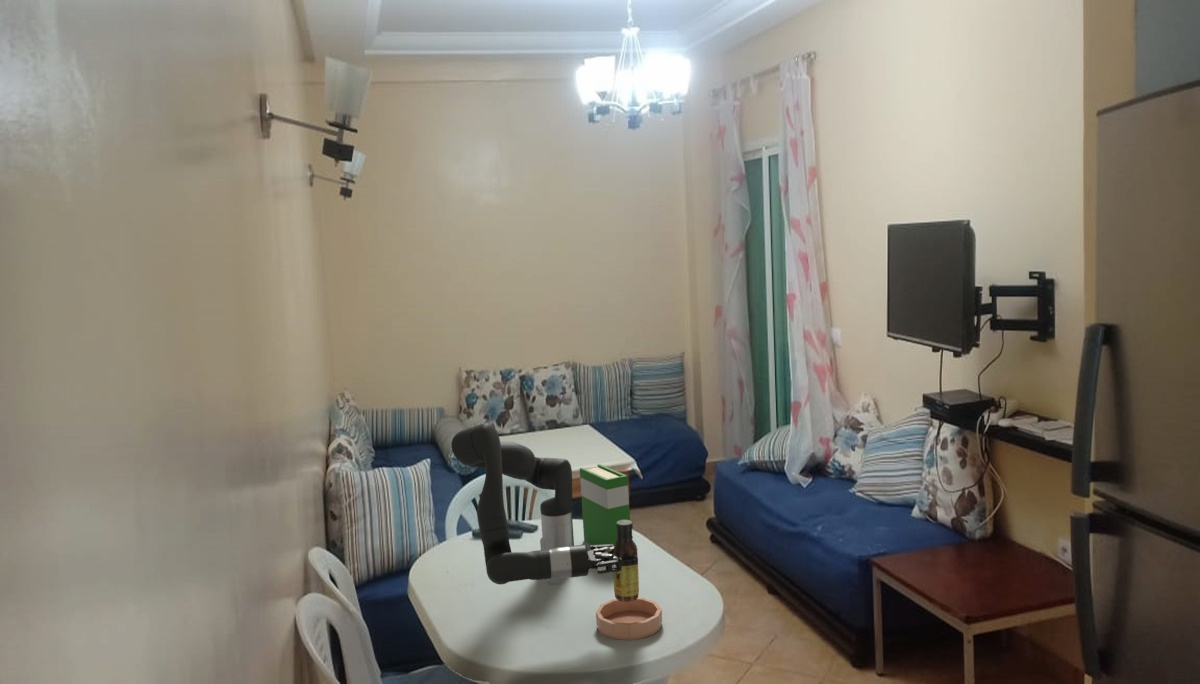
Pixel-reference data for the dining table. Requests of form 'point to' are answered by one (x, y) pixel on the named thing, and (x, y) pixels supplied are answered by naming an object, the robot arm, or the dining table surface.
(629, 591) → the sauce bottle
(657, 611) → the terracotta bowl
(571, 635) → the dining table surface
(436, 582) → the dining table surface
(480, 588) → the dining table surface
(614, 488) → the hardback book
